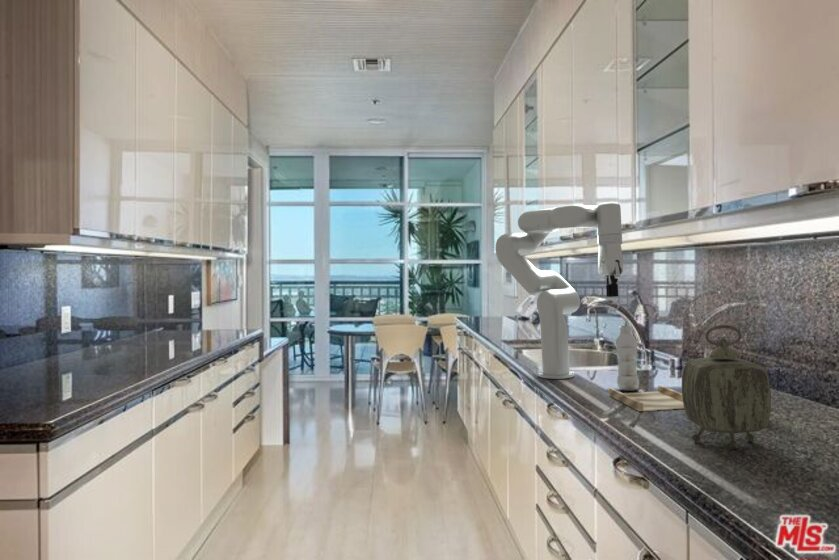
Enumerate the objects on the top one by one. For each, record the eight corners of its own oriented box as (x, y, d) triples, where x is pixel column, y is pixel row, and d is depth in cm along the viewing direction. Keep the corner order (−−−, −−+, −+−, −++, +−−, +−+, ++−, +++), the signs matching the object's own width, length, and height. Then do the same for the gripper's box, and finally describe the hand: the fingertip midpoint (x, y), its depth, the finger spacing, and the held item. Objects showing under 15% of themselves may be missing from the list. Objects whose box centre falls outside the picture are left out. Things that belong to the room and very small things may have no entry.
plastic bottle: (640, 388, 167) (637, 325, 167) (638, 393, 161) (635, 327, 161) (618, 387, 170) (615, 325, 170) (615, 392, 164) (612, 327, 164)
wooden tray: (609, 395, 160) (609, 388, 160) (661, 392, 160) (661, 385, 160) (639, 411, 140) (639, 403, 140) (699, 408, 140) (698, 400, 140)
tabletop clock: (754, 439, 114) (749, 322, 114) (778, 452, 105) (772, 326, 105) (684, 439, 115) (678, 324, 115) (701, 453, 106) (695, 328, 106)
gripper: (590, 242, 181) (592, 296, 181) (607, 239, 166) (610, 297, 166) (611, 241, 182) (614, 295, 182) (631, 238, 167) (633, 296, 167)
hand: (612, 296), depth 174 cm, fingers closed
